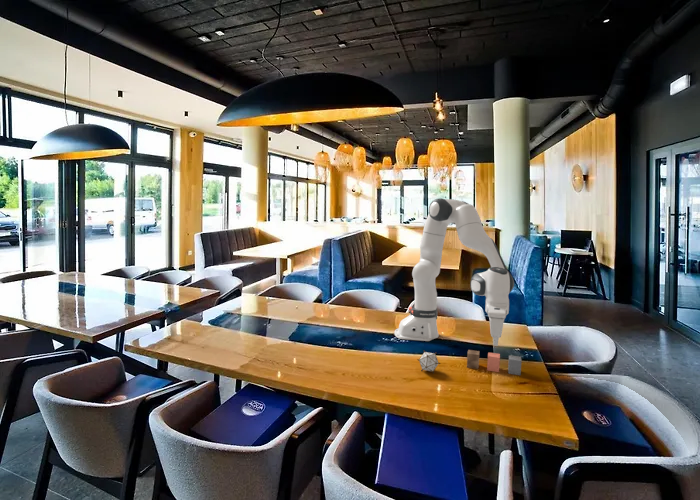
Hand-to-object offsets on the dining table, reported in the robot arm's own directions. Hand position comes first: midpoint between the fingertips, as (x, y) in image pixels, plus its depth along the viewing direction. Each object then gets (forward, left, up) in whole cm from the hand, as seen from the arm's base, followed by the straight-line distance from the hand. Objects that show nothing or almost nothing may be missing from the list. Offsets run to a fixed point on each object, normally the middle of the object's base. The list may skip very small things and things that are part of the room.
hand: (495, 341), depth 160 cm
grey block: (+7, -3, -12) cm, 14 cm away
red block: (0, 0, -12) cm, 12 cm away
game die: (-27, -3, -12) cm, 30 cm away
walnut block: (-8, +3, -12) cm, 14 cm away
